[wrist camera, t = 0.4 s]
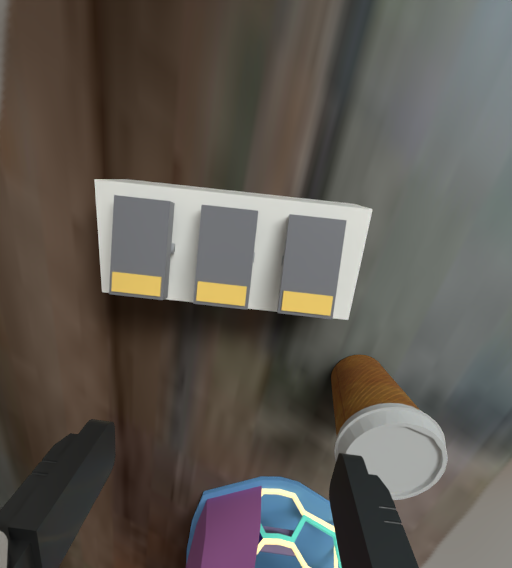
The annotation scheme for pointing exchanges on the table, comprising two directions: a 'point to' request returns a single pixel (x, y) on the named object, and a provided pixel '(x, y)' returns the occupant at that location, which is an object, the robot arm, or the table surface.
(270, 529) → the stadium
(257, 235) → the console
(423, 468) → the disposable coffee cup
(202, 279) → the block
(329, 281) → the rocker
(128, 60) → the table surface
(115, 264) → the rocker
